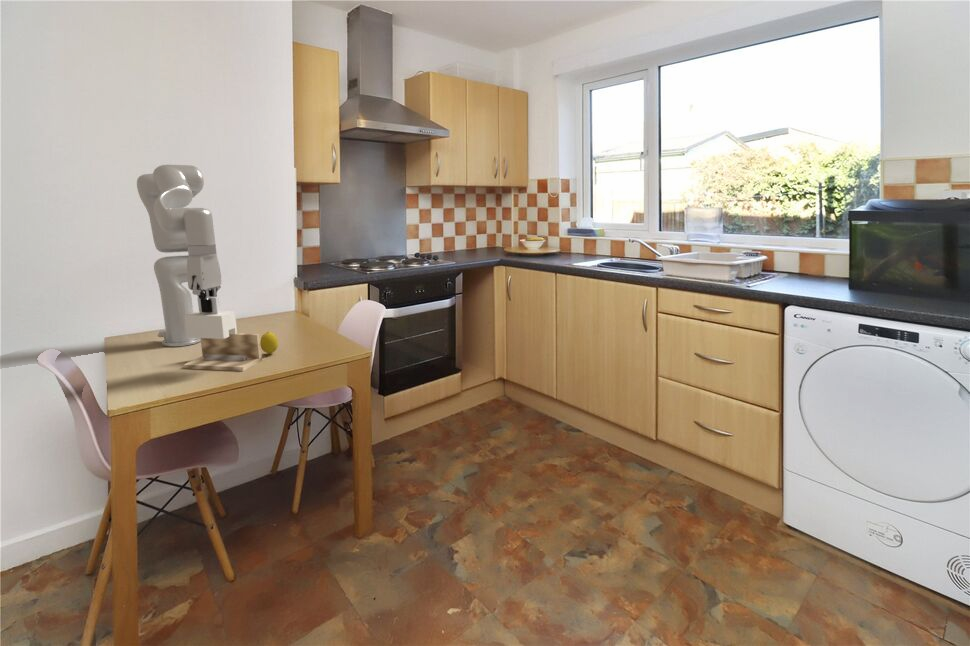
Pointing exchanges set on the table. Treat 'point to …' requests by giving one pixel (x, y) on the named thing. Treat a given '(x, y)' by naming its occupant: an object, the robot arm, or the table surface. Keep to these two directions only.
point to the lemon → (269, 343)
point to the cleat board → (228, 353)
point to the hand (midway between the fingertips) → (209, 311)
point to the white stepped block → (211, 322)
